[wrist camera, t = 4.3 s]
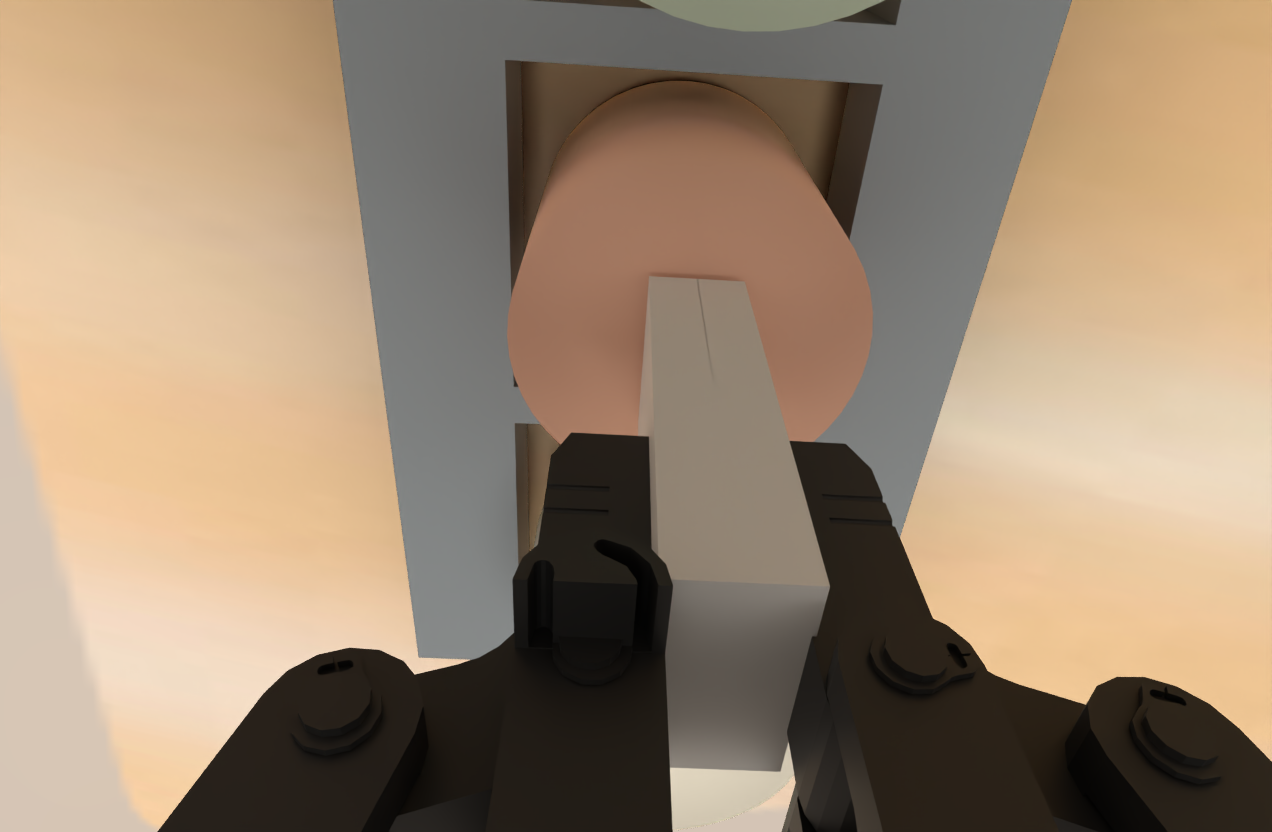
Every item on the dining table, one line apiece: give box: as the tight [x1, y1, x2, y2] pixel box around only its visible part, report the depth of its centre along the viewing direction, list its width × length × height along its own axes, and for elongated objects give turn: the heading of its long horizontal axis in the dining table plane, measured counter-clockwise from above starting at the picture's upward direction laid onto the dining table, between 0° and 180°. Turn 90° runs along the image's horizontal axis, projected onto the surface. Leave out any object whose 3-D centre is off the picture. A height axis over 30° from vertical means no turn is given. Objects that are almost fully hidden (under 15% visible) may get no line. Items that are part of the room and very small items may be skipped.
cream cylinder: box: [534, 507, 794, 830], centre depth 18 cm, size 6×6×6 cm
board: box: [333, 0, 1072, 660], centre depth 18 cm, size 26×13×2 cm, turn 177°
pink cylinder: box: [507, 81, 873, 445], centre depth 16 cm, size 6×6×6 cm
